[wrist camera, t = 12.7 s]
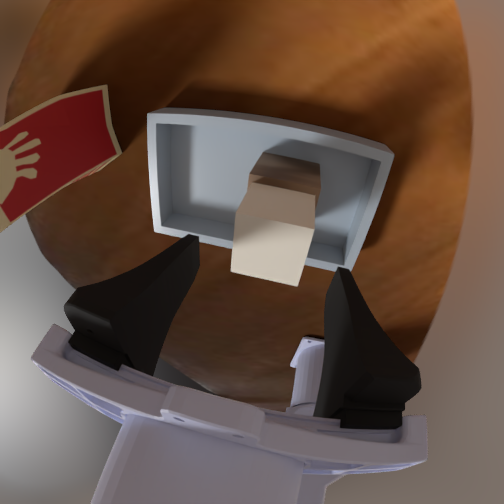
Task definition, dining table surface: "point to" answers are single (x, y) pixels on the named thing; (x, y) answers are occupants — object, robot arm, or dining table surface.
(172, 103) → the dining table surface
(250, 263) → the cream box
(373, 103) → the dining table surface
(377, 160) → the tote
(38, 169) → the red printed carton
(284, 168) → the walnut block
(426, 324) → the dining table surface
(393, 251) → the dining table surface
